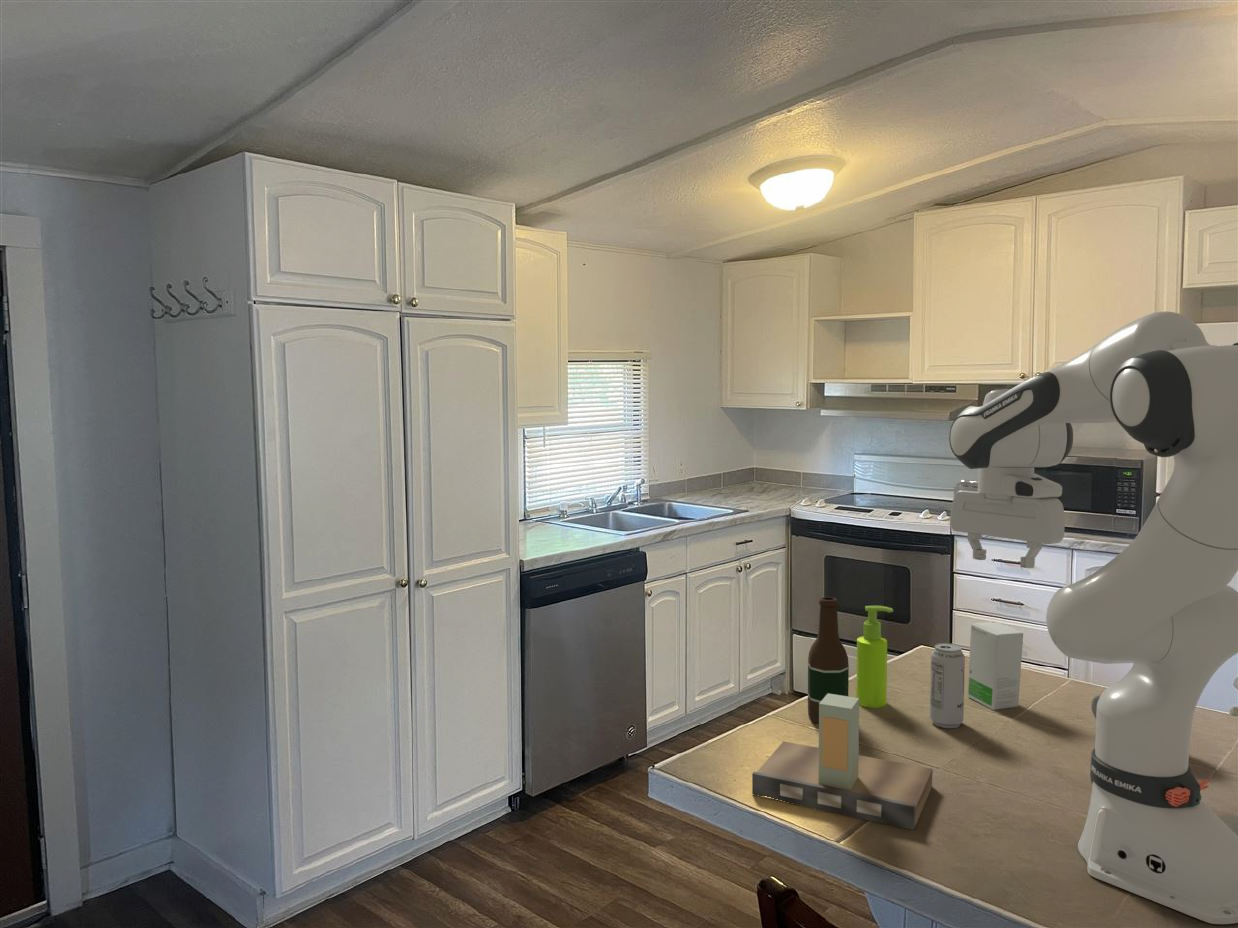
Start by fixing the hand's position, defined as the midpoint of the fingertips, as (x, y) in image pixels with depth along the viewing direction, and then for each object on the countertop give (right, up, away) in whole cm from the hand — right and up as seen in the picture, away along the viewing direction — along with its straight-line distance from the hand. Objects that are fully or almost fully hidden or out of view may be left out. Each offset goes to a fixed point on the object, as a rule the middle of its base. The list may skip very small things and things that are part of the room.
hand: (1002, 563), depth 156 cm
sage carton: (-31, -33, -13) cm, 47 cm away
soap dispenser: (-14, -32, +29) cm, 45 cm away
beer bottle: (-25, -33, +20) cm, 46 cm away
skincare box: (+10, -31, +28) cm, 43 cm away
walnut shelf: (-30, -36, -9) cm, 47 cm away
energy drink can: (-3, -33, +17) cm, 37 cm away
